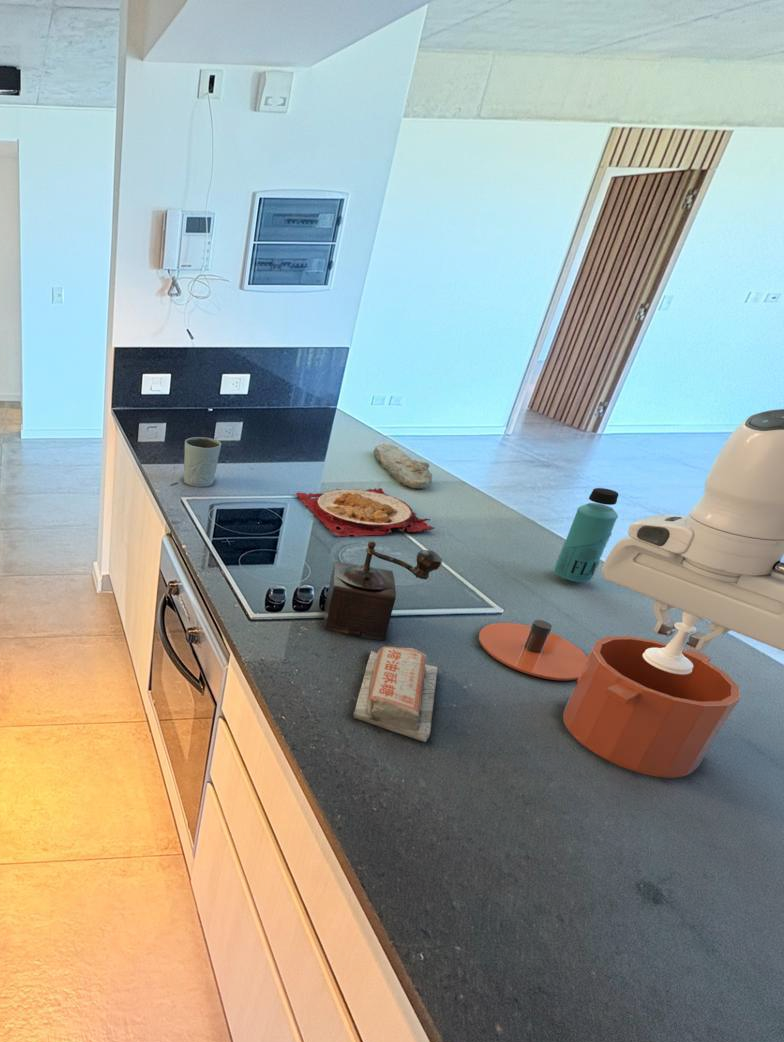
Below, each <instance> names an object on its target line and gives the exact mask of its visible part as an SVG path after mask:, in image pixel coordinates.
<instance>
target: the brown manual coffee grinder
mask: <svg viewBox="0 0 784 1042" xmlns="http://www.w3.org/2000/svg"><path fill="white" fill-rule="evenodd" d="M376 546H377V543H376V541H374V540H370V541H369V542H368V543H367V547H366V548H365V552H366V557H365V559H364V560H365V561H364V564H363V565H362V564H354V563H349V562H343V561H334V563H333V568H332V572H331V576H330V579H329V585H328V589H327V594H326V598H325V601H324V609H323V610H324V611H323V612H324V614H323V628H324V630H325V631H330V632H334V633H337V634H342V635H346V636H350V637H355V638H363V639H368V640H376V641H387V633H388V629H389V628H388V627H389V624H390V621H391V617H392V614H393V609H394V606H395V602H396V598H397V589H396V580H395V576H394V572H393V570H390V569H385V568H379V567H372V566H371V563H372V558H373V556H374V557H376V558H377V559H380V560H383V561H386V562H390V563H393V564H394V565H398V566H400V567H403V568H405V569H406V570H408V571H409V572H410V573H412V574H413V576H415V578H416V579H417V578H418V579H419V580H420V579H421V580H428V579H429V578H430V573H431V572H434V571H436V570H438V569H439V568H440V567H441V565H442V564H443V559H442V557H441V556H440V555H439V554H438V553H436V552H435V551H433V550H430V549H429V550H428V549H422V550H419V551H418V552H417V554H416V565H415V566H413V565H411V564H409V563H408V562H406V561H403V560H401V559H398V558H394V556H393V557H392V556H389V555H387V554H384V553H381V552H378V551H376V549H375V548H376Z"/></svg>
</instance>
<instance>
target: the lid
mask: <svg viewBox="0 0 784 1042" xmlns="http://www.w3.org/2000/svg"><path fill="white" fill-rule="evenodd" d="M552 629H553V624H551V623H550V622H548V621H545V620H542V619H535V620H533V622H532V624H531V625H528V624H523V623H515V622H495V623H490V624H487V625H485V626H484V627H482V629H481V630H480V631H479V633H478V641H479V644H480V646H481V647H482V648H483V649H484V651H485V652H486V653H488V654H489V655H490V656H492V658H494V659H495V660H496V661H498V662H500V663H502V664H503V665H505V666H507V667H509V668H511V669H514V670H516V671H518V672H521V673H524V674H527V675H529V676H532V677H537V678H541V679H546V680H553V681H576V680H578V678H579V676H580V674H581V672H582V669H583V667H584V665H585V663H586V661H587V659H588V656H587V655H586V653H585V652H584V651H583V650H581V649H580V648H579V647H578V646H576V644H574V643H573V642H571V641H569V640H568V639H566V638H563V637H562V636H559V635H558V634H555V633H553V632H551V631H552Z"/></svg>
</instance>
